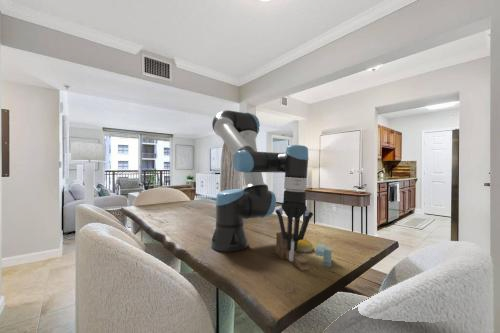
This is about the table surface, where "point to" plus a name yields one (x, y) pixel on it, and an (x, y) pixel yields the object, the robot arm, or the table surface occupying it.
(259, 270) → the table surface
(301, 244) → the bread roll
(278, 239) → the wooden step block
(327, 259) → the keeper
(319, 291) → the table surface
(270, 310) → the table surface
